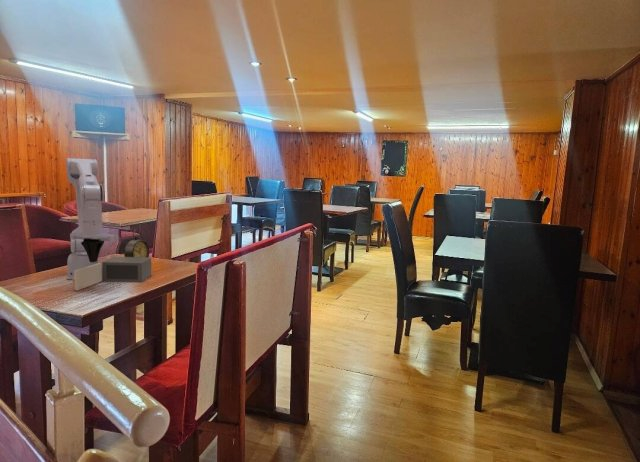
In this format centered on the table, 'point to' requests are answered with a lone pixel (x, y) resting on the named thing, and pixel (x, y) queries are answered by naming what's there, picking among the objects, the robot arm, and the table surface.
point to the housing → (126, 269)
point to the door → (88, 276)
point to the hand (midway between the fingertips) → (93, 261)
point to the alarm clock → (136, 248)
